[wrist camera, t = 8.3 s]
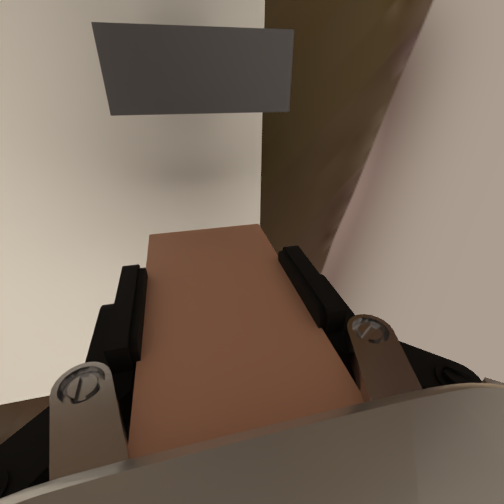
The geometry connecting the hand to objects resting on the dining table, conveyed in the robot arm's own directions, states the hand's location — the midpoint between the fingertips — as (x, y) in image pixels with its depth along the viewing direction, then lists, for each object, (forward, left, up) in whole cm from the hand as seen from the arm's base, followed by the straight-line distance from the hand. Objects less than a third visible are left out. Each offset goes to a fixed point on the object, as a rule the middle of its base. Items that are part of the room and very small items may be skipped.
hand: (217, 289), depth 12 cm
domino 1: (-7, 0, -12) cm, 14 cm away
